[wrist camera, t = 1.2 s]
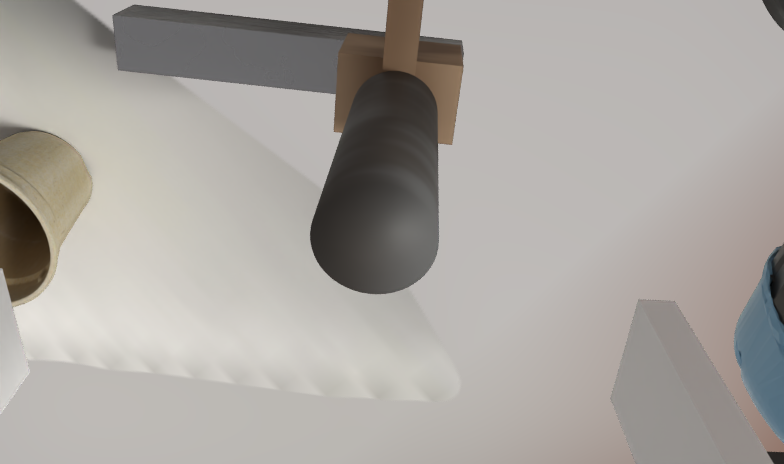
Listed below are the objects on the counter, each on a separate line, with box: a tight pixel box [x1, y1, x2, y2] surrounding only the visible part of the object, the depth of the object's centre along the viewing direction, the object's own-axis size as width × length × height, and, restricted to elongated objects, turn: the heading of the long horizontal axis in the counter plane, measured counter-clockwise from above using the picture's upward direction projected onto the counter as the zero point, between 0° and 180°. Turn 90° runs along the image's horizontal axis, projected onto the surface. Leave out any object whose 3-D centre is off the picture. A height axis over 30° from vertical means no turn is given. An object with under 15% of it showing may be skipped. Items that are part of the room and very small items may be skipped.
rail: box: [113, 5, 464, 94], centre depth 39 cm, size 19×3×3 cm, turn 85°
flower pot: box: [0, 131, 92, 307], centre depth 41 cm, size 9×9×9 cm
